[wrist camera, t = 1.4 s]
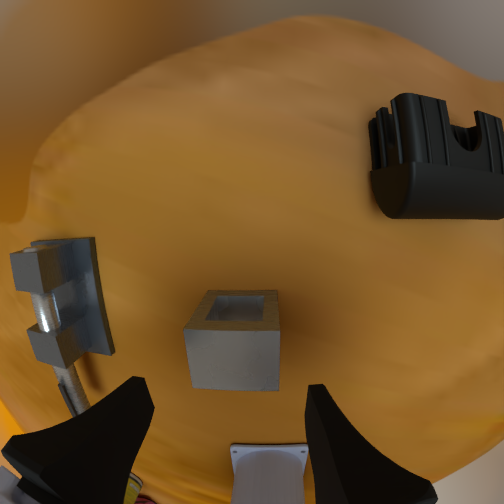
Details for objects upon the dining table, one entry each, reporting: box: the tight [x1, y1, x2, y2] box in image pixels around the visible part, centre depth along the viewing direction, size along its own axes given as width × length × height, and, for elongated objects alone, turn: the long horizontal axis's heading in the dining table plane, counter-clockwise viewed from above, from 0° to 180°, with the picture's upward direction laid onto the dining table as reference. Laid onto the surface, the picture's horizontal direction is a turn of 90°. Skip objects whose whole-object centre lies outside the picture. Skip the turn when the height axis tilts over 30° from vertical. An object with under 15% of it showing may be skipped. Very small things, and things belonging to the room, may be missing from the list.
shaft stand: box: [10, 237, 115, 417], centre depth 19 cm, size 16×8×5 cm, turn 2°
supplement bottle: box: [123, 473, 142, 504], centre depth 22 cm, size 5×5×10 cm
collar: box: [183, 290, 280, 391], centre depth 17 cm, size 4×5×6 cm
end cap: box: [368, 93, 504, 220], centre depth 14 cm, size 10×7×7 cm
